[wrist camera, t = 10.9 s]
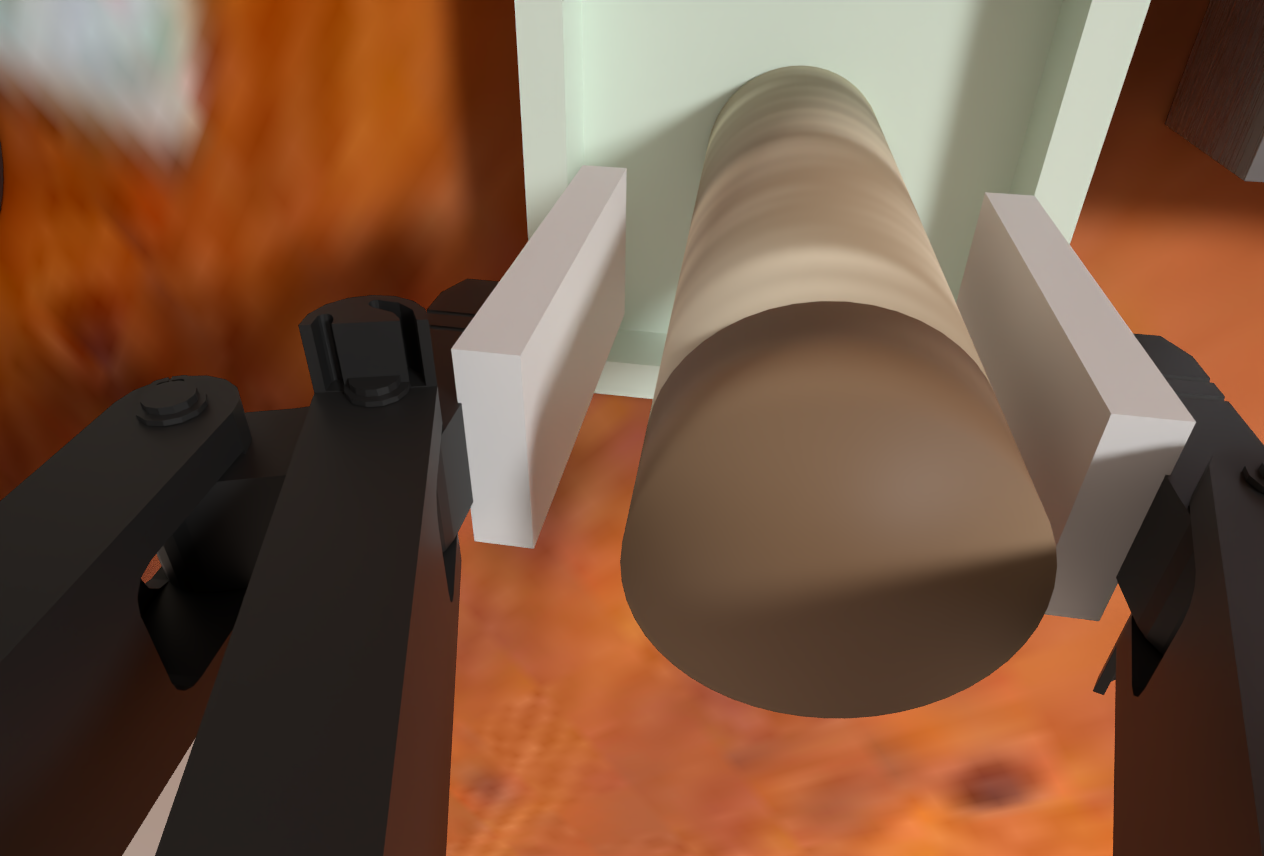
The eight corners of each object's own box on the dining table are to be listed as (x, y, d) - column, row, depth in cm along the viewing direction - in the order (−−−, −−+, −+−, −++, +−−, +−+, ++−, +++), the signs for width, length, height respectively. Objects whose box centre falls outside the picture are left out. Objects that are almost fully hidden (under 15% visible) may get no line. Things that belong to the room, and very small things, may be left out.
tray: (557, 344, 24) (536, 387, 22) (538, -164, 17) (504, -167, 15) (988, 385, 22) (1005, 435, 20) (1152, -154, 16) (1203, -157, 14)
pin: (701, 233, 21) (618, 693, 9) (713, 61, 18) (622, 387, 7) (864, 244, 20) (990, 739, 9) (896, 69, 18) (1125, 430, 7)
